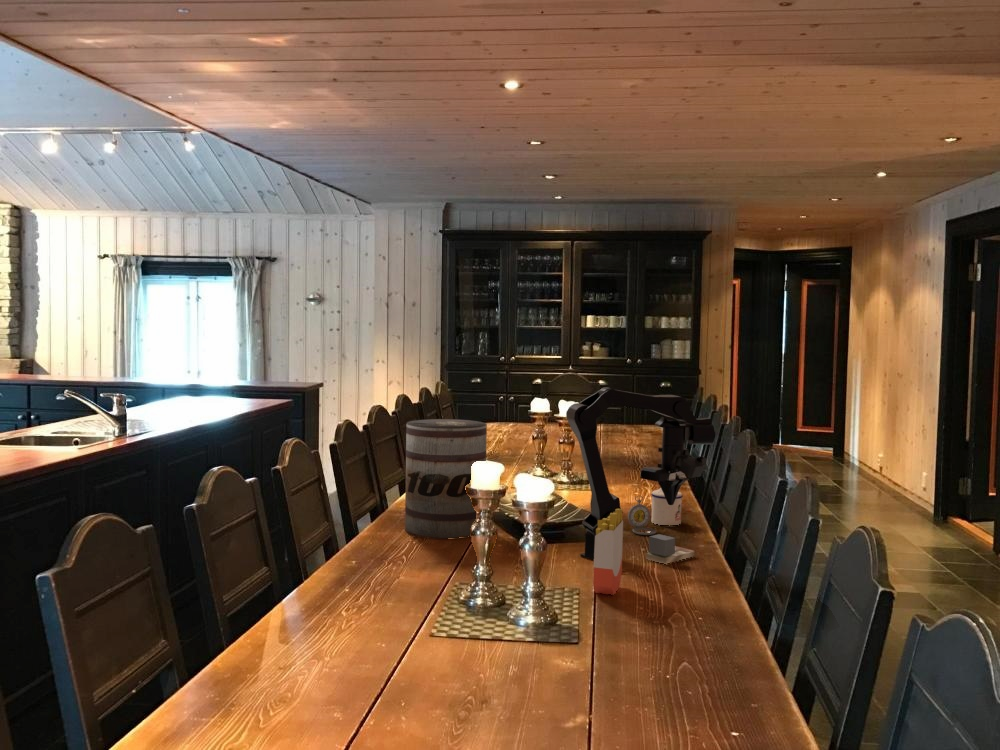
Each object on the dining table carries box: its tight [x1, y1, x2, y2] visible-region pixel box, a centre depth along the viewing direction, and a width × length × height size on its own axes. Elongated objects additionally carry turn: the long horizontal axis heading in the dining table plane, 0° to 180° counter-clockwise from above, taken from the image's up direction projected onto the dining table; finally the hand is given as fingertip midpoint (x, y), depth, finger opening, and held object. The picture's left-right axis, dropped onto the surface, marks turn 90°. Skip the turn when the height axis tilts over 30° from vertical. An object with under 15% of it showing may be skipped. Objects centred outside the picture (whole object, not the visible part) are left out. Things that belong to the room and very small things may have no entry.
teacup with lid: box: [650, 487, 683, 527], centre depth 263 cm, size 12×9×12 cm
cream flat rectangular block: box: [645, 545, 695, 565], centre depth 223 cm, size 12×6×2 cm, turn 131°
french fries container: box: [592, 508, 624, 596], centre depth 195 cm, size 5×11×18 cm, turn 161°
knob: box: [648, 533, 676, 556], centre depth 221 cm, size 4×5×4 cm
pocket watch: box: [627, 495, 657, 536], centre depth 250 cm, size 8×8×10 cm
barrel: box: [404, 418, 488, 540], centre depth 248 cm, size 22×22×30 cm
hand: (670, 504), depth 227 cm, fingers closed
